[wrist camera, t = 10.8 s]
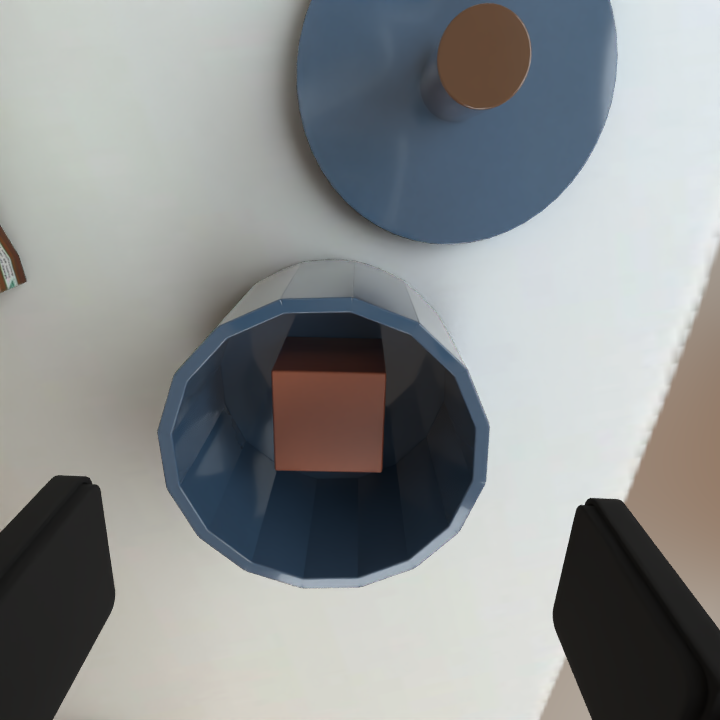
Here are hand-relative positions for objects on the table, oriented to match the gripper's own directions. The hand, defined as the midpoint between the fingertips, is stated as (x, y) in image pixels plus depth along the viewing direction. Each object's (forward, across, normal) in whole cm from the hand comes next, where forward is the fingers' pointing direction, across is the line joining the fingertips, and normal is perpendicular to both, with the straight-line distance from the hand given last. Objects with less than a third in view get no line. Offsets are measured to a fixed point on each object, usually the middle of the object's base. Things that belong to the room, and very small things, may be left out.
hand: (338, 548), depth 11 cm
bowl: (+15, +1, +3) cm, 15 cm away
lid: (+15, -4, -10) cm, 18 cm away
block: (+15, +1, +3) cm, 15 cm away
